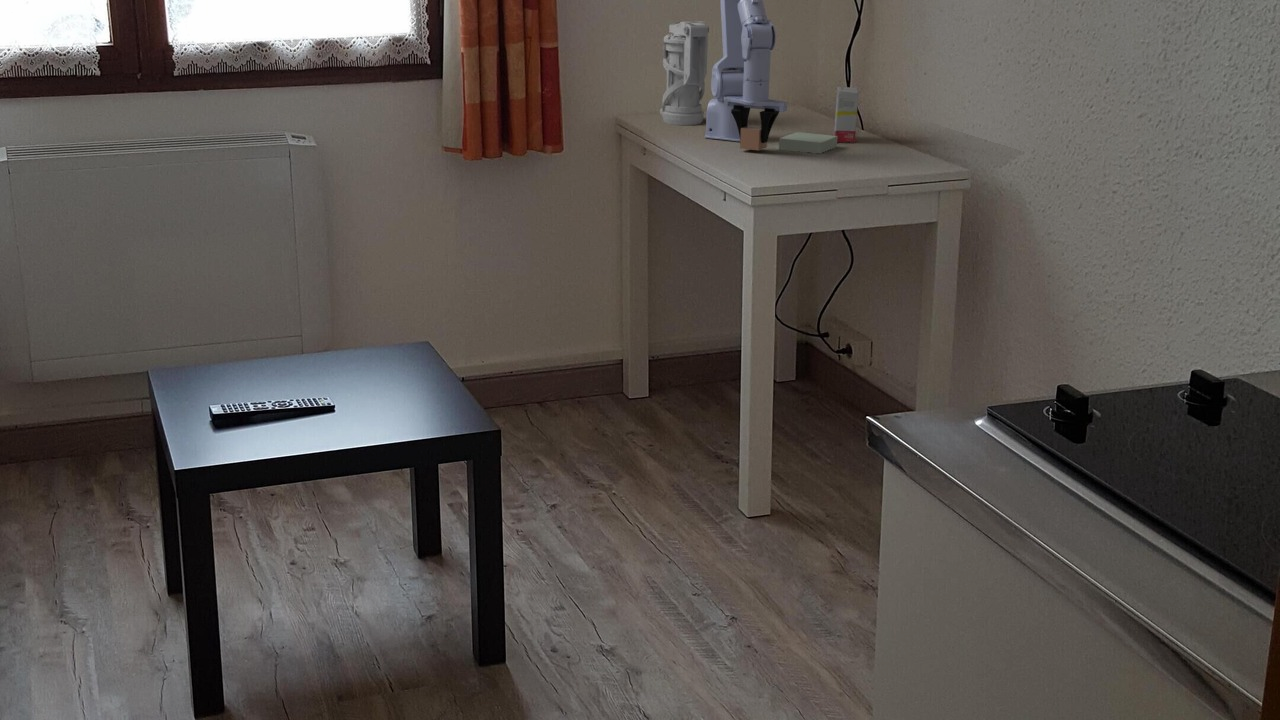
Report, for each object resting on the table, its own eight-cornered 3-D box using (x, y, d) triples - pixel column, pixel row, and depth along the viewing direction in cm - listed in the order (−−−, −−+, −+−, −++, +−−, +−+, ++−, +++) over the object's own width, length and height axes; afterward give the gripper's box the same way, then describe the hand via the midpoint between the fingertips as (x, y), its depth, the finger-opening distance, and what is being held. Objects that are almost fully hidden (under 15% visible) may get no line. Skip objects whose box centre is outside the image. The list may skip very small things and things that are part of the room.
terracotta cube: (740, 148, 303) (740, 128, 301) (748, 145, 307) (749, 125, 305) (758, 150, 301) (759, 130, 299) (766, 147, 305) (767, 127, 303)
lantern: (655, 119, 342) (656, 18, 334) (692, 117, 346) (694, 17, 338) (677, 128, 331) (680, 23, 323) (715, 125, 335) (718, 21, 327)
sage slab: (778, 149, 306) (779, 138, 305) (796, 142, 315) (796, 131, 314) (820, 153, 302) (820, 142, 301) (836, 147, 310) (837, 136, 309)
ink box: (855, 143, 315) (859, 92, 311) (834, 142, 315) (837, 91, 311) (854, 137, 323) (857, 86, 319) (833, 136, 323) (836, 86, 320)
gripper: (718, 79, 299) (716, 140, 303) (779, 84, 292) (776, 147, 297) (732, 75, 305) (730, 135, 309) (792, 80, 298) (789, 142, 303)
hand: (753, 141), depth 303 cm, fingers closed on terracotta cube, 4 cm apart
